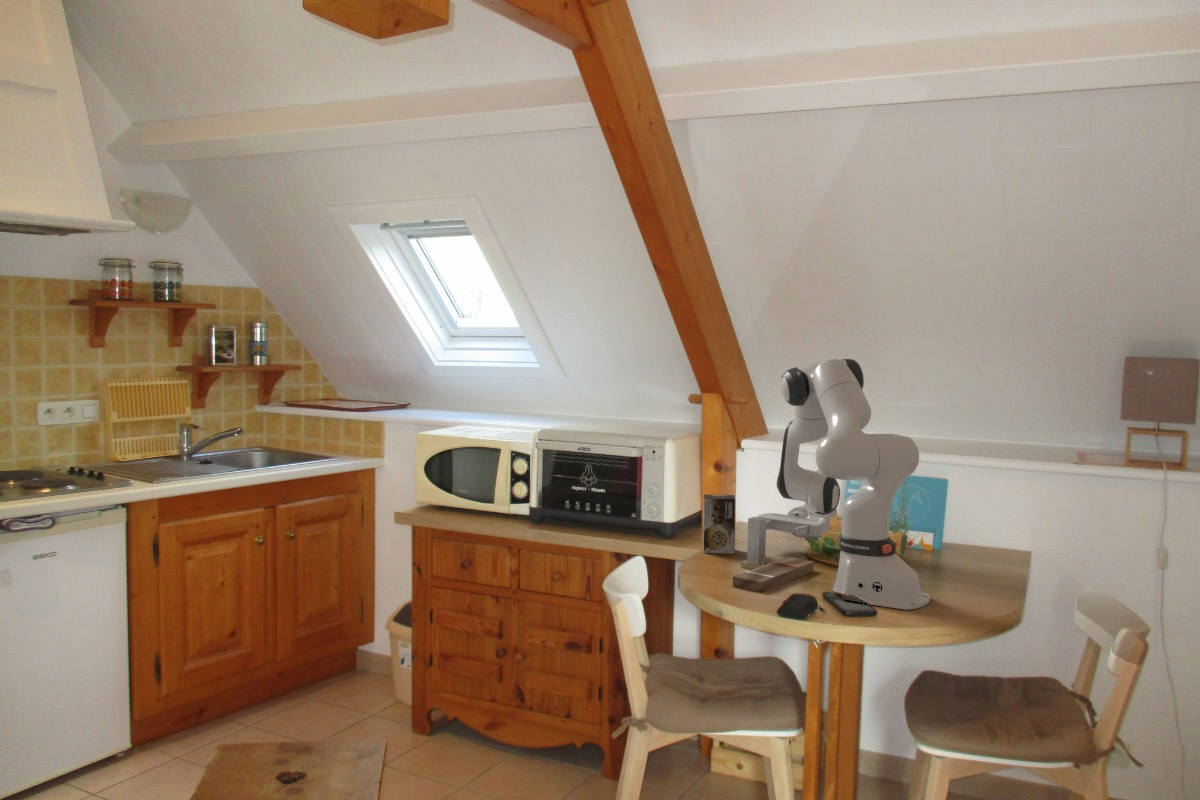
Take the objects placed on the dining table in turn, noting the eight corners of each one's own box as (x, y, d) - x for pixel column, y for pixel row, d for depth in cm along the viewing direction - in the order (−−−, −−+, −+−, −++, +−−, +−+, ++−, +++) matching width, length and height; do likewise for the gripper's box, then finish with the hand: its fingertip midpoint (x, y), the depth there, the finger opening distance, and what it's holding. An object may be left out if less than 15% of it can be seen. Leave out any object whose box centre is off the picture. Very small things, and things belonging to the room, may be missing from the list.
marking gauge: (771, 569, 249) (772, 519, 249) (763, 571, 246) (765, 521, 245) (748, 564, 254) (749, 515, 253) (740, 567, 251) (741, 517, 250)
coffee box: (733, 549, 272) (735, 494, 271) (734, 554, 266) (736, 498, 264) (702, 548, 273) (703, 493, 272) (702, 553, 266) (703, 497, 265)
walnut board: (813, 570, 248) (813, 561, 248) (761, 592, 226) (761, 581, 226) (786, 565, 253) (786, 556, 253) (732, 586, 232) (732, 575, 231)
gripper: (770, 506, 276) (746, 512, 266) (834, 515, 263) (812, 522, 253) (770, 527, 277) (746, 534, 266) (834, 537, 264) (811, 545, 253)
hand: (779, 529), depth 259 cm, fingers open, 8 cm apart
